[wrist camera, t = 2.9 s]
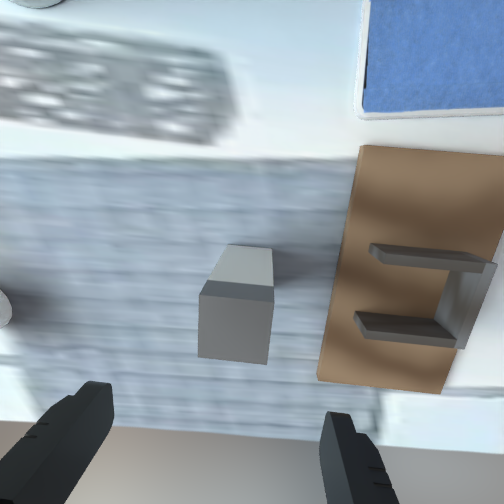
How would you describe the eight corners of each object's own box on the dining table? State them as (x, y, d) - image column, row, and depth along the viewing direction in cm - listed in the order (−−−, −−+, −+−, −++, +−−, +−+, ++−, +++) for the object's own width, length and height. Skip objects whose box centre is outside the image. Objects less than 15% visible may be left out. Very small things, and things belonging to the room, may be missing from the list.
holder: (360, 146, 20) (381, 140, 16) (518, 159, 20) (578, 155, 16) (316, 373, 27) (324, 406, 23) (433, 386, 26) (462, 422, 22)
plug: (227, 244, 23) (199, 294, 14) (271, 248, 23) (274, 302, 13) (225, 284, 24) (197, 357, 15) (267, 289, 24) (266, 365, 15)
